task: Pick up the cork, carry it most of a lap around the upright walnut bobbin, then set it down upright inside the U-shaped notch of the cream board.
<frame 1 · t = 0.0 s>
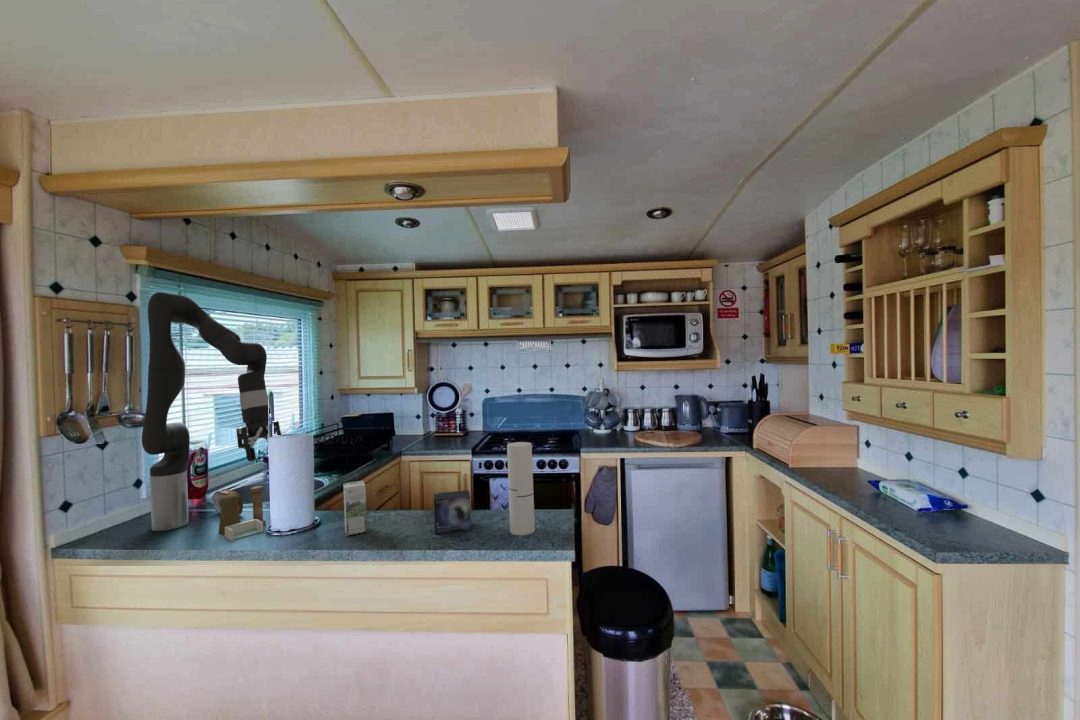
hand: (263, 457, 139), 22 cm above the worktop, tool pointing down, fingers open, 8 cm apart
syrup box: (355, 532, 135), on the worktop
cylindrical container: (522, 531, 131), on the worktop
bobbin: (258, 525, 144), on the worktop
small box: (452, 530, 134), on the worktop
cork: (230, 531, 140), on the worktop
bread slice: (227, 515, 156), on the worktop
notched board: (244, 534, 136), on the worktop
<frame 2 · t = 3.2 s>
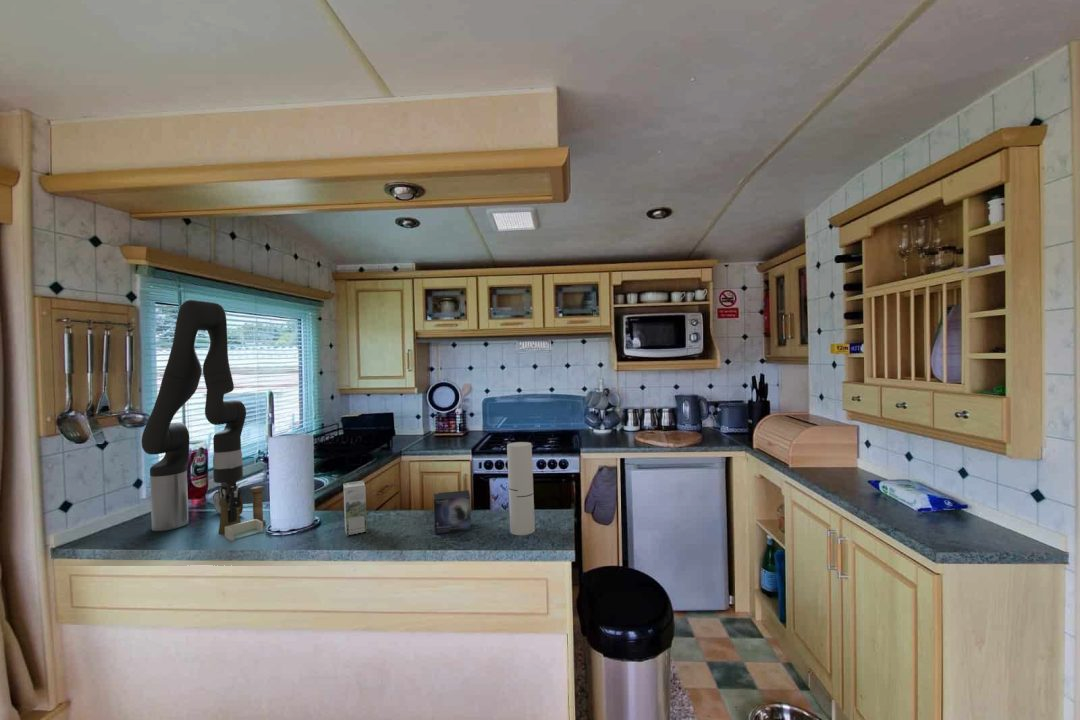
hand: (230, 520, 140), 3 cm above the worktop, tool pointing down, fingers closed on cork, 4 cm apart
cork: (230, 531, 140), on the worktop, touching gripper
everything else where it was.
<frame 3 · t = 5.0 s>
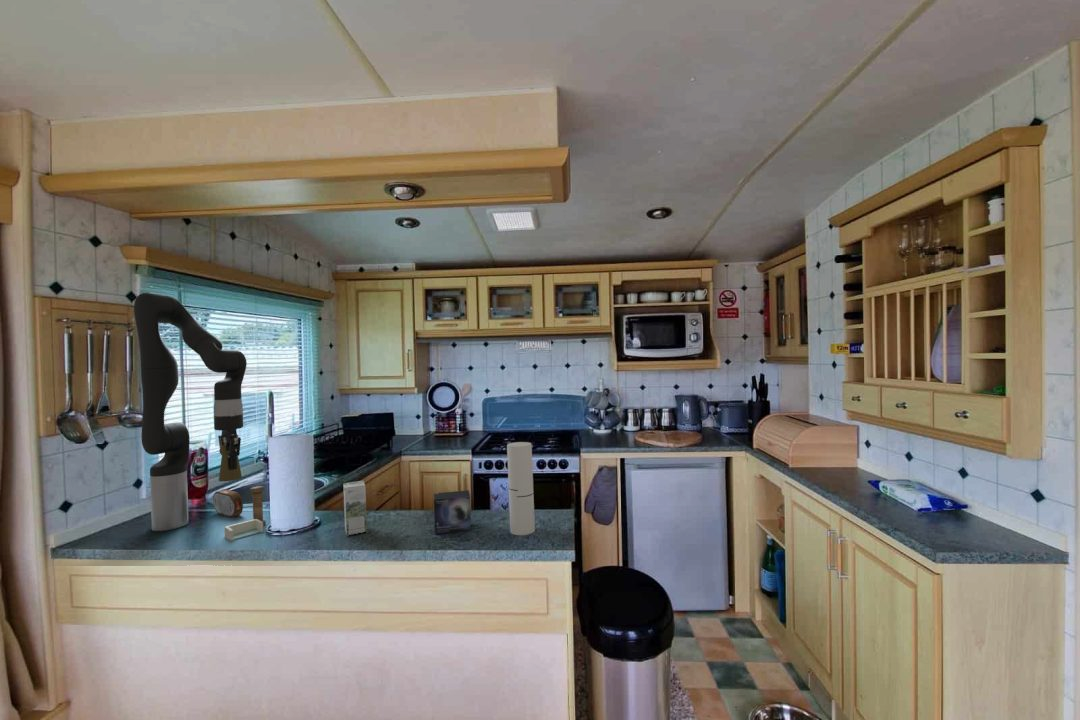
hand: (230, 468, 141), 19 cm above the worktop, tool pointing down, fingers closed on cork, 4 cm apart
cork: (230, 479, 141), point 16 cm above the worktop, touching gripper
everything else where it was.
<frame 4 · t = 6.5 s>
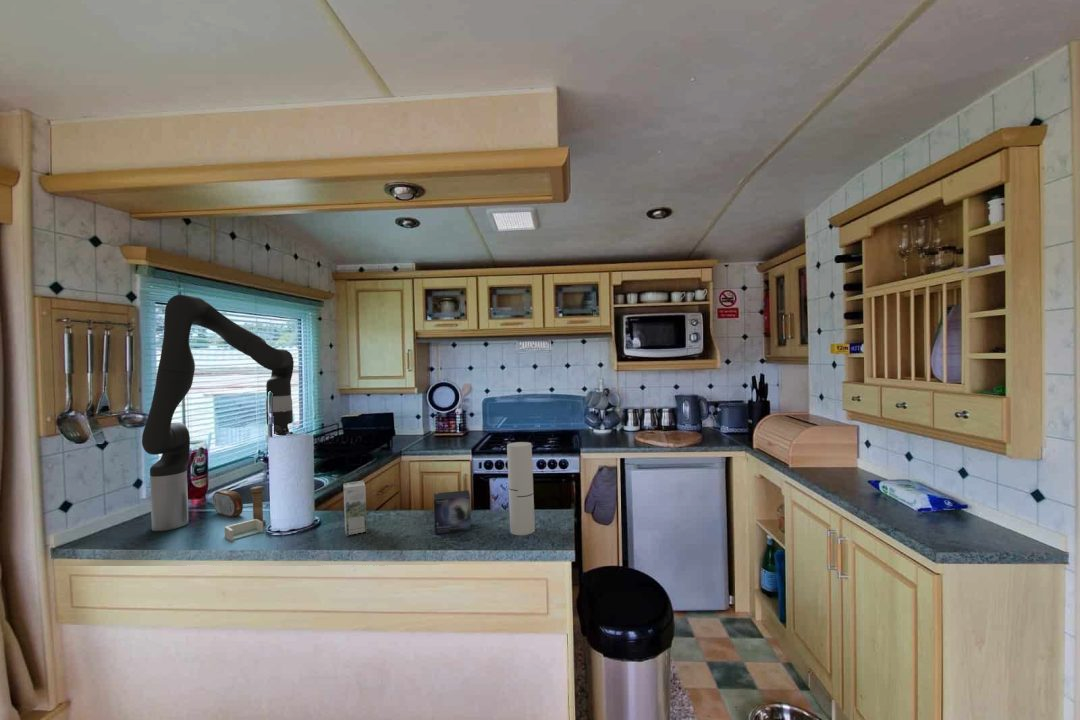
hand: (281, 461, 148), 19 cm above the worktop, tool pointing down, fingers closed on cork, 4 cm apart
cork: (281, 472, 148), point 16 cm above the worktop, touching gripper
everything else where it was.
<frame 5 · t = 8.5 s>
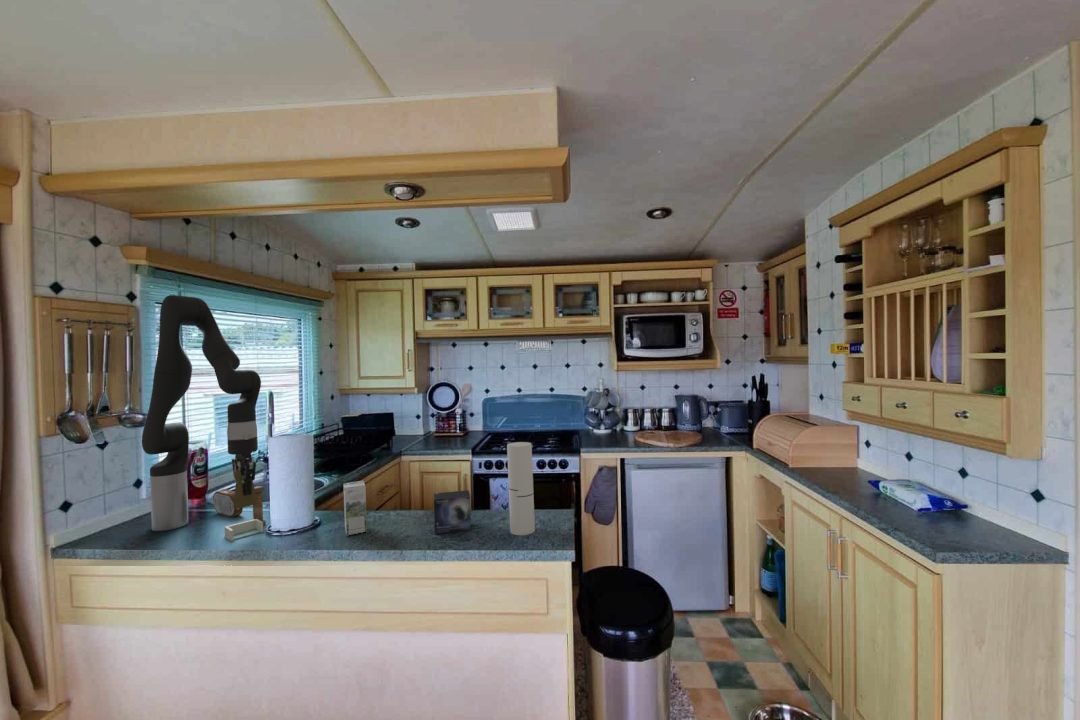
hand: (244, 493, 135), 13 cm above the worktop, tool pointing down, fingers closed on cork, 4 cm apart
cork: (245, 505, 135), point 9 cm above the worktop, touching gripper
everything else where it was.
when the fingers open (5 cm above the worktop, at t = 10.2 s): cork drops 1 cm, resting on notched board.
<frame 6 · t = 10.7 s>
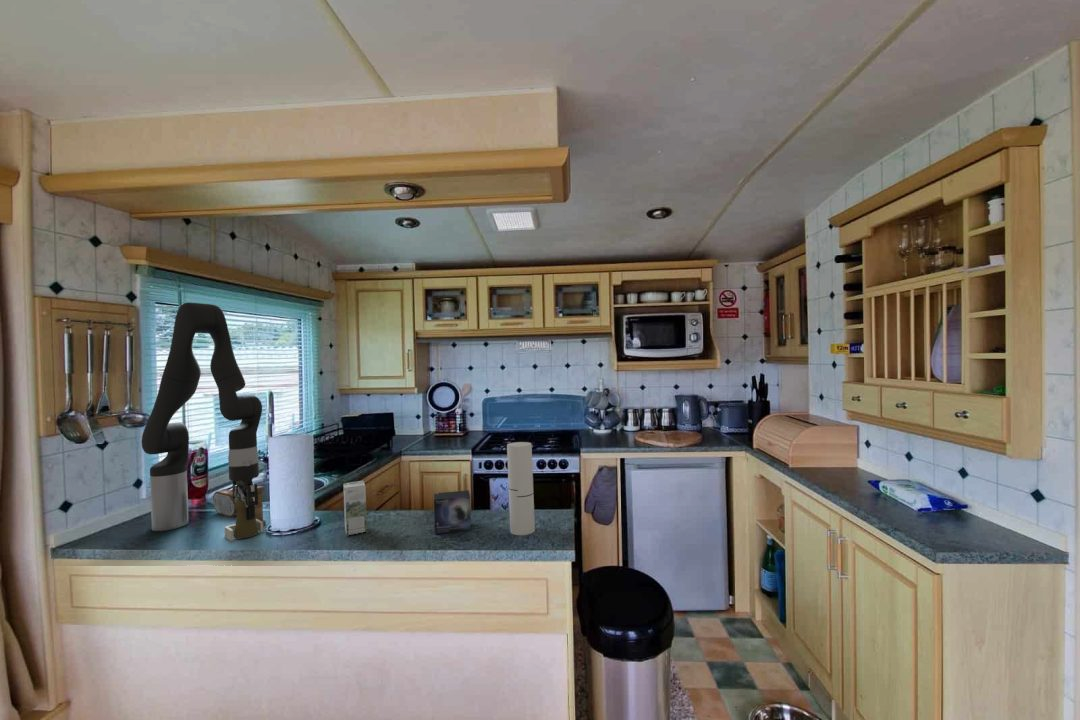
hand: (245, 516, 135), 6 cm above the worktop, tool pointing down, fingers open, 8 cm apart
cork: (246, 535, 135), resting on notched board
everything else where it was.
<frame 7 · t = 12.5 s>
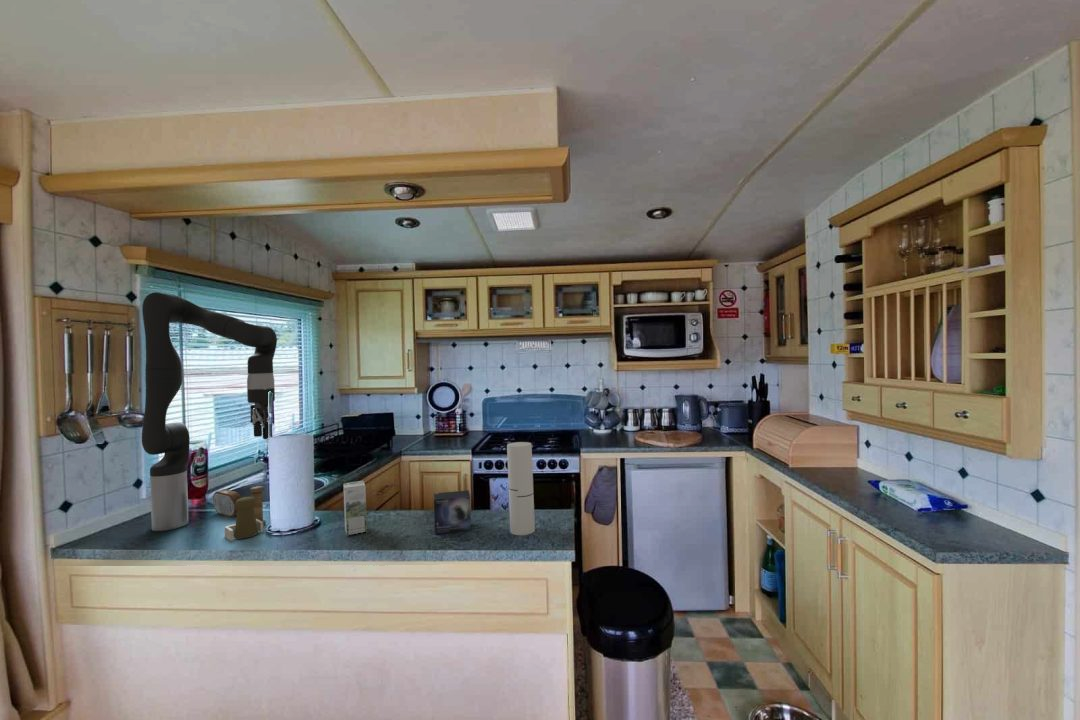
hand: (262, 437, 146), 28 cm above the worktop, tool pointing down, fingers open, 8 cm apart
nothing on the worktop moved.
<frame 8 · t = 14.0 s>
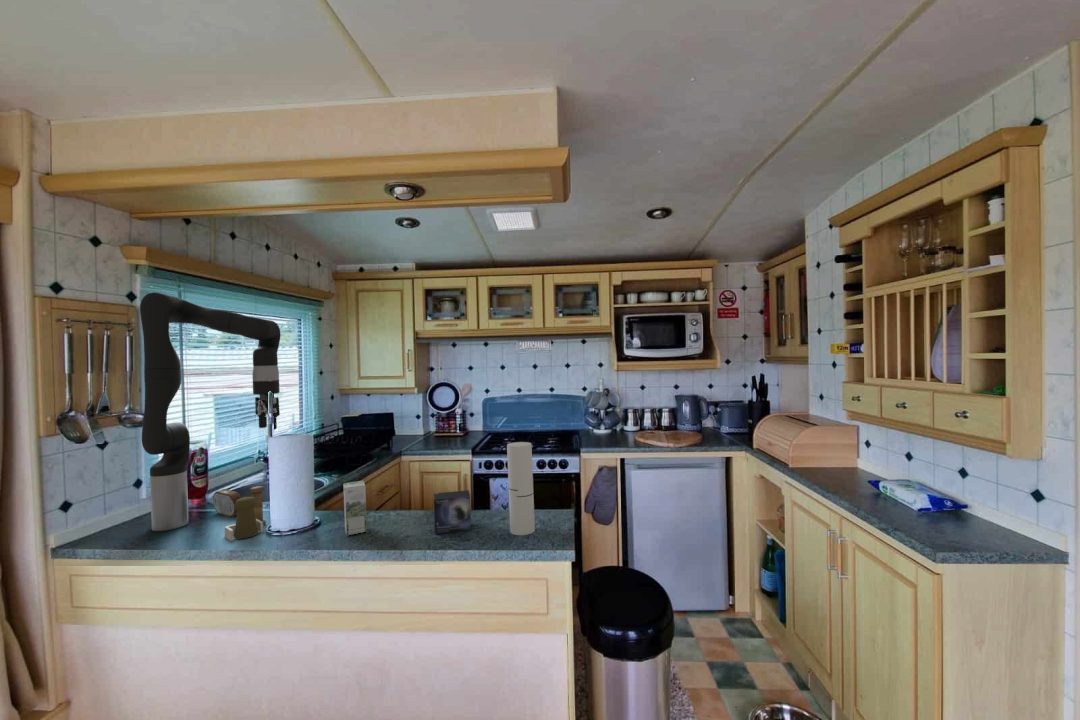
hand: (267, 428, 149), 30 cm above the worktop, tool pointing down, fingers open, 8 cm apart
nothing on the worktop moved.
at the end: cork 0.2 cm from the target spot on the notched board, point 0.2 cm above the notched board's base; cork tilted 0°; the gripper is holding nothing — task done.
